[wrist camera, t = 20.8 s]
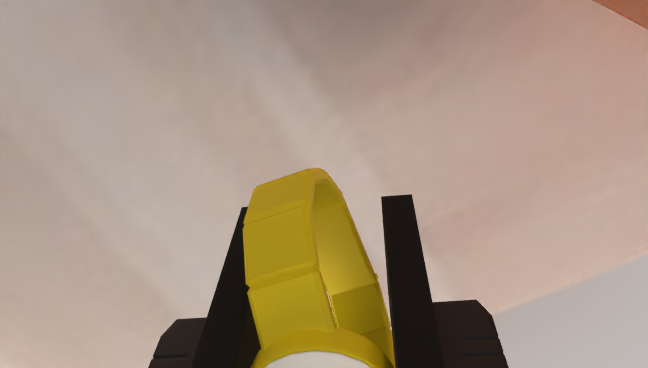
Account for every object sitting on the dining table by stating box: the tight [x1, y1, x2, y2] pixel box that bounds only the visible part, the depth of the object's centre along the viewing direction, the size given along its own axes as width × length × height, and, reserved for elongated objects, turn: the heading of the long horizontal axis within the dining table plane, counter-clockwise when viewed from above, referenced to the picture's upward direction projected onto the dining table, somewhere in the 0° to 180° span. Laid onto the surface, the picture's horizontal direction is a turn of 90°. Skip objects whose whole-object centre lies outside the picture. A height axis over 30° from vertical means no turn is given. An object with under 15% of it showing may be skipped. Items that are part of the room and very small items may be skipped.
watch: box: [243, 168, 395, 368], centre depth 13 cm, size 6×3×6 cm, turn 22°
